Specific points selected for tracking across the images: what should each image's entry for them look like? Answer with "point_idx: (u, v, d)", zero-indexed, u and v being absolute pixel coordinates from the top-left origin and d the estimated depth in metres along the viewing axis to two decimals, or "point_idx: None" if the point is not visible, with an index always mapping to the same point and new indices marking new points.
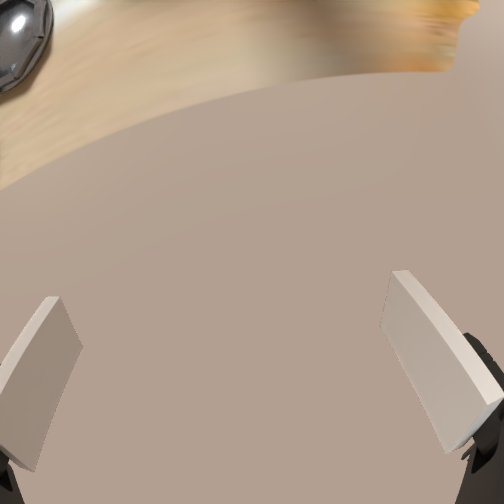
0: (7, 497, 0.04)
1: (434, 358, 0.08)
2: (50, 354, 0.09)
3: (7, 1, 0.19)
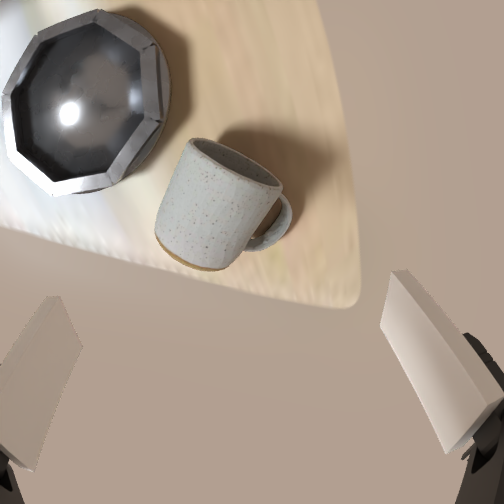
0: (7, 497, 0.04)
1: (434, 358, 0.08)
2: (50, 354, 0.09)
3: (14, 116, 0.19)
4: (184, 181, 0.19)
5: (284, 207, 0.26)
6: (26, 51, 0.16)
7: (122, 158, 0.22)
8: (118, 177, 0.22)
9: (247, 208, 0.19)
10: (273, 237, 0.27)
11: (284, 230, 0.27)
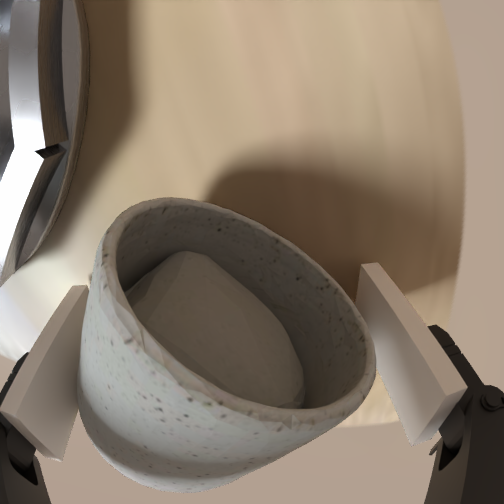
0: (32, 491, 0.04)
1: (398, 348, 0.08)
2: (78, 342, 0.10)
3: None
4: (100, 380, 0.05)
5: None
6: None
7: None
8: None
9: (293, 449, 0.06)
10: None
11: None
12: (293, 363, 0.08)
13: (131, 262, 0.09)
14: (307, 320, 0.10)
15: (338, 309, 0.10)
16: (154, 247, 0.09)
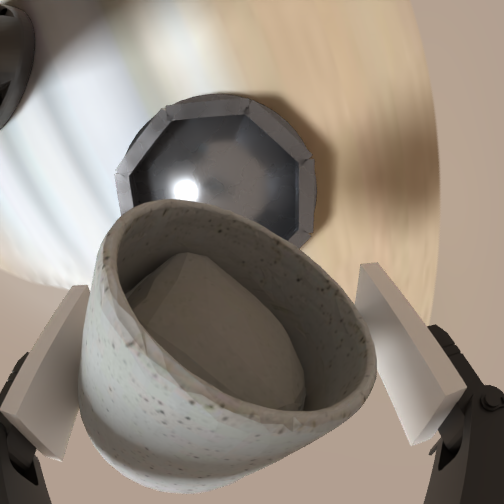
0: (32, 491, 0.04)
1: (397, 348, 0.08)
2: (78, 341, 0.10)
3: (134, 200, 0.23)
4: (101, 382, 0.05)
5: None
6: (150, 127, 0.20)
7: None
8: None
9: (294, 451, 0.06)
10: None
11: None
12: (294, 365, 0.08)
13: (132, 264, 0.09)
14: (308, 321, 0.10)
15: (339, 310, 0.10)
16: (155, 249, 0.09)
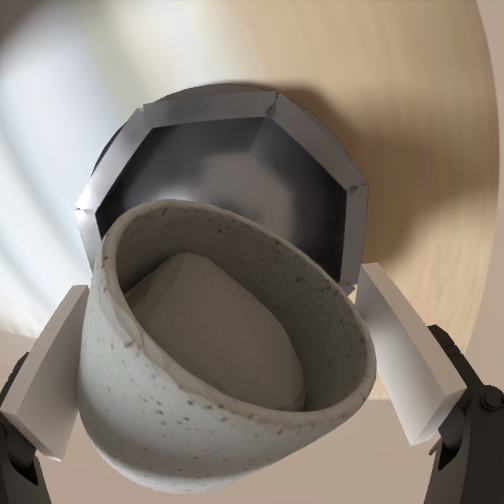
0: (32, 491, 0.04)
1: (397, 348, 0.08)
2: (78, 341, 0.10)
3: None
4: (100, 382, 0.05)
5: None
6: (120, 139, 0.13)
7: None
8: None
9: (293, 451, 0.06)
10: None
11: None
12: (293, 365, 0.08)
13: (131, 264, 0.09)
14: (307, 321, 0.10)
15: (338, 311, 0.09)
16: (154, 249, 0.09)
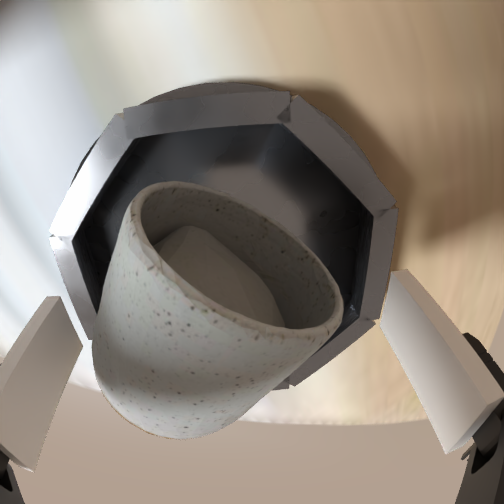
0: (7, 497, 0.04)
1: (434, 358, 0.08)
2: (50, 354, 0.09)
3: (88, 277, 0.13)
4: (121, 313, 0.07)
5: None
6: (97, 152, 0.10)
7: (313, 362, 0.16)
8: (301, 380, 0.16)
9: (273, 377, 0.08)
10: None
11: None
12: (275, 315, 0.10)
13: (145, 233, 0.11)
14: (290, 286, 0.13)
15: (315, 275, 0.12)
16: (164, 222, 0.12)
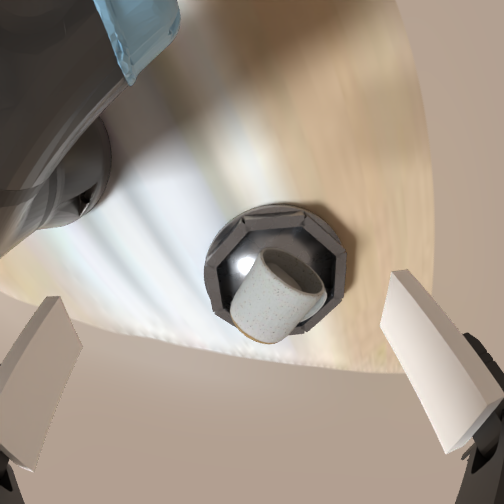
0: (7, 497, 0.04)
1: (434, 358, 0.08)
2: (50, 354, 0.09)
3: (219, 282, 0.34)
4: (260, 291, 0.28)
5: None
6: (233, 235, 0.31)
7: (315, 319, 0.36)
8: (309, 328, 0.37)
9: (303, 309, 0.28)
10: (312, 311, 0.36)
11: (320, 307, 0.35)
12: None
13: None
14: (306, 284, 0.33)
15: (315, 279, 0.32)
16: None
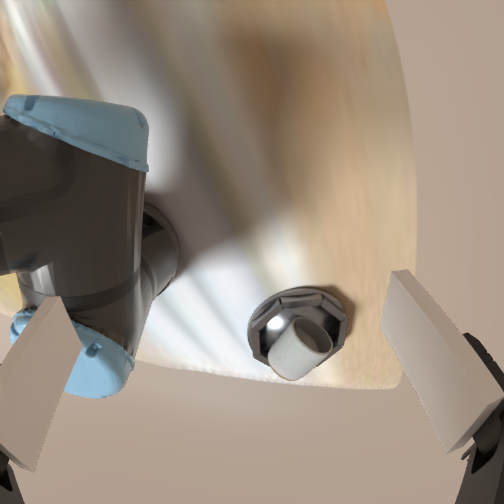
0: (7, 497, 0.04)
1: (434, 358, 0.08)
2: (50, 354, 0.09)
3: (259, 338, 0.47)
4: (292, 352, 0.41)
5: None
6: (273, 311, 0.44)
7: None
8: (318, 364, 0.50)
9: (319, 361, 0.42)
10: None
11: None
12: (317, 348, 0.44)
13: None
14: (319, 339, 0.47)
15: (326, 337, 0.46)
16: None
